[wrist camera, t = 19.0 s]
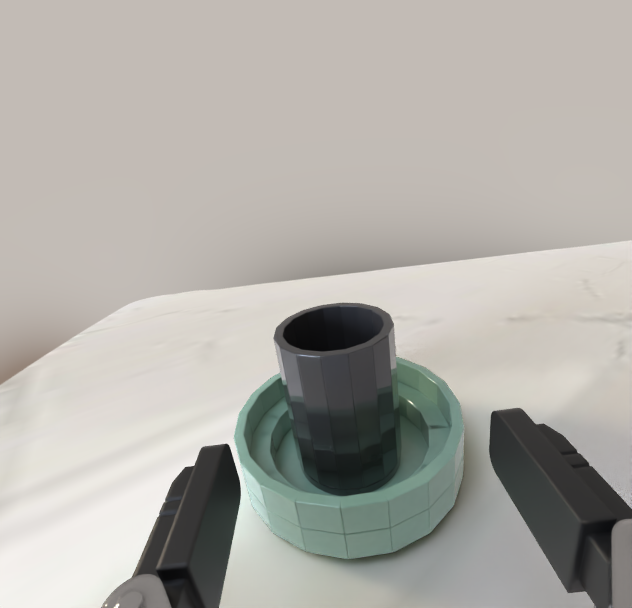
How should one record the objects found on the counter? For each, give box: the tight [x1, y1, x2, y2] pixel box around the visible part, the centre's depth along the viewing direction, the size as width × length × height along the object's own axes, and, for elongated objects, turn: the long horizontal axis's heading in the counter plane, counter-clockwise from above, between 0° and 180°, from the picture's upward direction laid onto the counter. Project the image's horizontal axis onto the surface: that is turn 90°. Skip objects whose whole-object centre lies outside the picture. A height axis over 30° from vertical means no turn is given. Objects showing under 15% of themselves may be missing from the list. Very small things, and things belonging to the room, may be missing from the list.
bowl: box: [234, 357, 464, 559], centre depth 22 cm, size 13×13×4 cm
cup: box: [274, 303, 402, 496], centre depth 21 cm, size 6×6×9 cm
